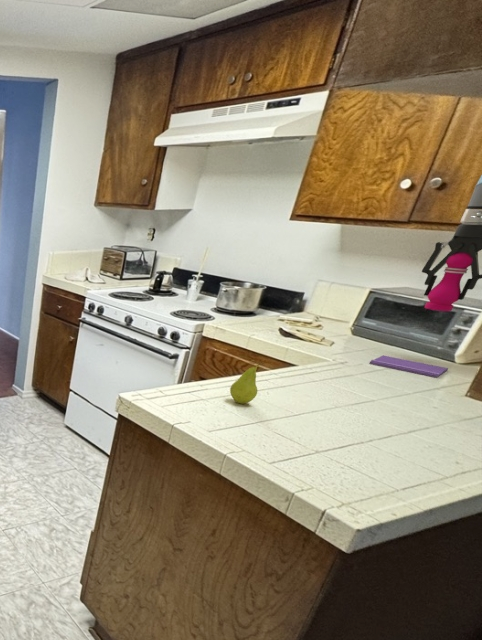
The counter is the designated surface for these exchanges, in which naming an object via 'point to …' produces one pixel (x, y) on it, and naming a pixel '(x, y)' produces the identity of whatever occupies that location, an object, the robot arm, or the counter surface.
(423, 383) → the counter surface
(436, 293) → the pepper mill
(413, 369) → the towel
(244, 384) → the fruit
